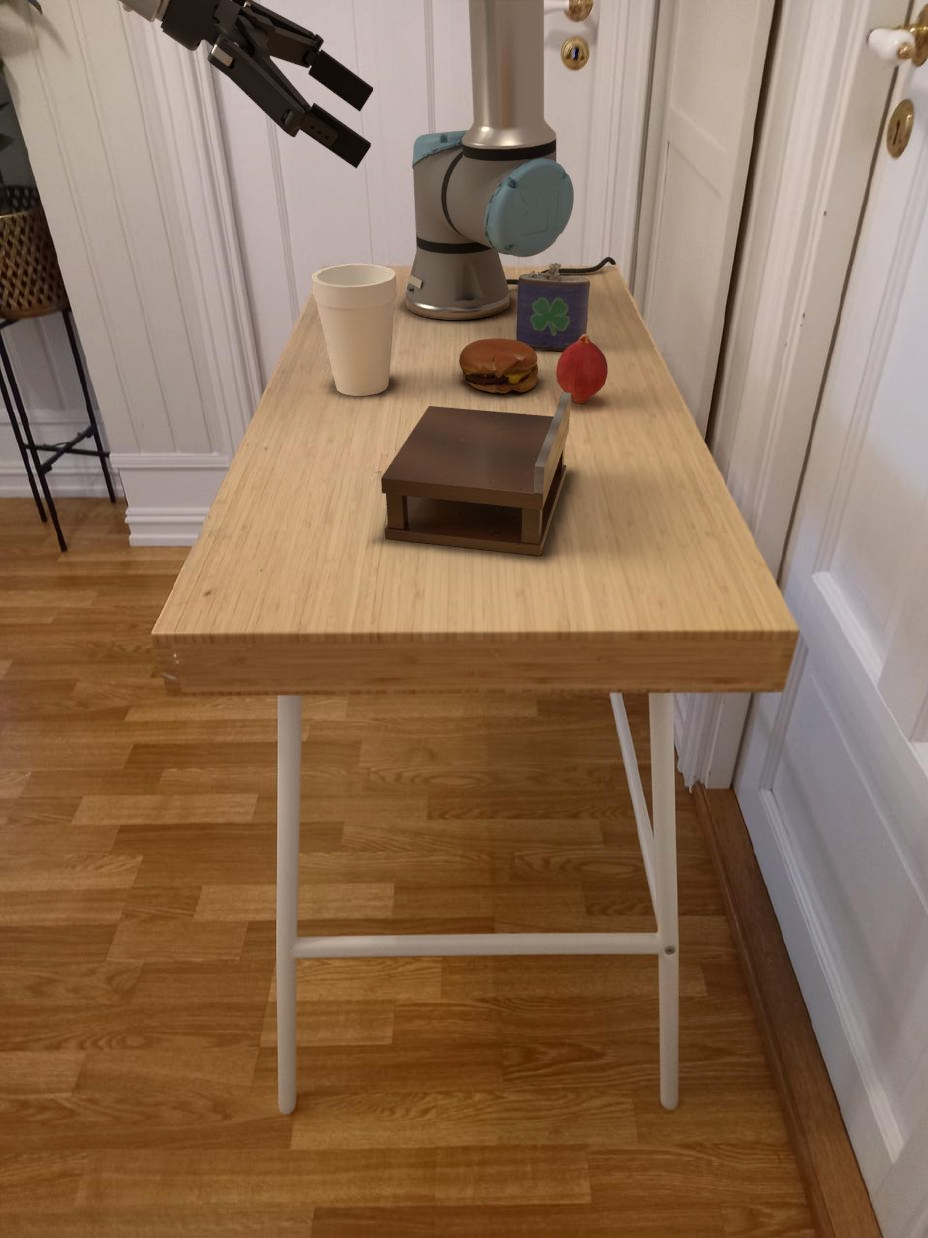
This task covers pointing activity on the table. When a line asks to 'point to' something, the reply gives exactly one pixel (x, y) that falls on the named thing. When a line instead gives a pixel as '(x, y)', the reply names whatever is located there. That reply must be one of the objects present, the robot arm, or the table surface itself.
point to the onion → (582, 369)
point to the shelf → (478, 479)
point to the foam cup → (357, 324)
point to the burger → (499, 365)
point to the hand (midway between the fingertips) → (365, 126)
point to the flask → (551, 309)
